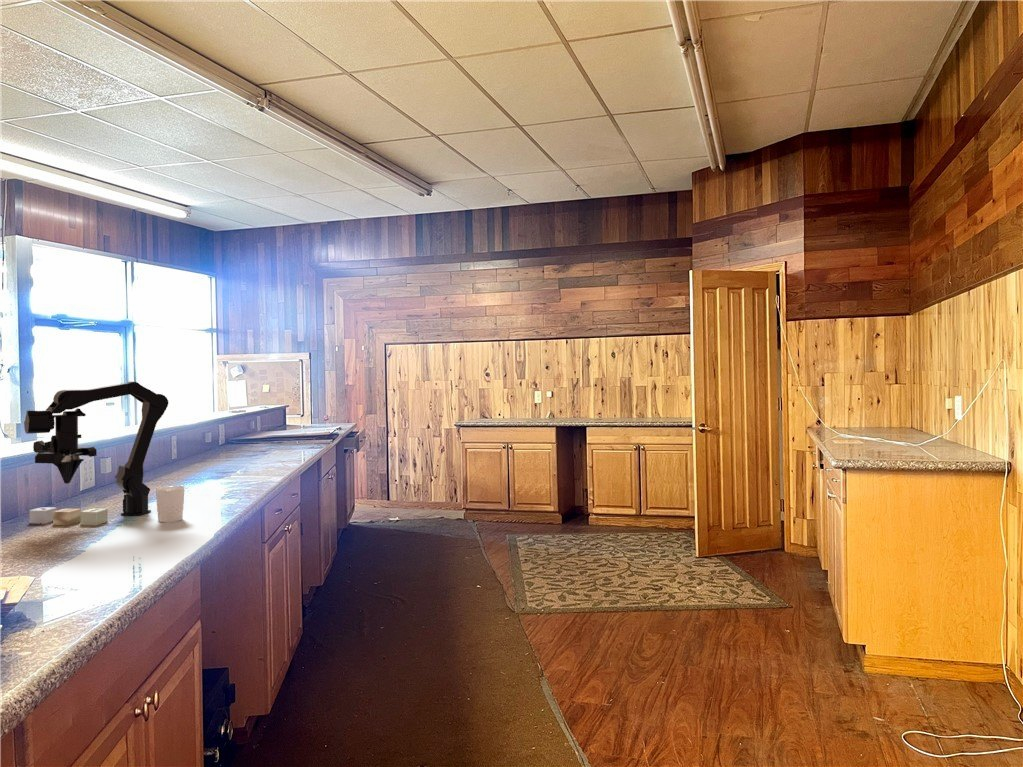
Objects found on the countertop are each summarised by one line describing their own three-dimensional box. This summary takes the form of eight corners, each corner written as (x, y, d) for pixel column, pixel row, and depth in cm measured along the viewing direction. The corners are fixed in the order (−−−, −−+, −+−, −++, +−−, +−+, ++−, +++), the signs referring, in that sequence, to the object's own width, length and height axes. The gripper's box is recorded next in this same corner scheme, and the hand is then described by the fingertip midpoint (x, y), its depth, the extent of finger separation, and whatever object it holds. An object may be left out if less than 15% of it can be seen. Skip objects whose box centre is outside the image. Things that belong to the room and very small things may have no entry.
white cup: (150, 521, 214) (150, 488, 214) (173, 516, 221) (173, 484, 221) (167, 523, 210) (167, 490, 210) (190, 519, 217) (190, 487, 217)
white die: (57, 520, 214) (57, 507, 214) (45, 524, 209) (44, 510, 209) (42, 520, 215) (42, 506, 215) (29, 523, 210) (29, 510, 210)
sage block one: (107, 521, 213) (107, 508, 213) (96, 525, 208) (96, 512, 208) (92, 521, 213) (92, 508, 213) (80, 525, 208) (80, 511, 208)
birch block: (80, 521, 213) (80, 508, 213) (68, 525, 208) (68, 512, 208) (65, 521, 213) (65, 508, 213) (53, 525, 208) (53, 511, 208)
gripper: (64, 428, 220) (64, 477, 220) (17, 434, 201) (17, 488, 202) (97, 429, 219) (97, 478, 219) (53, 434, 200) (53, 489, 201)
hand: (67, 483), depth 210 cm, fingers closed
